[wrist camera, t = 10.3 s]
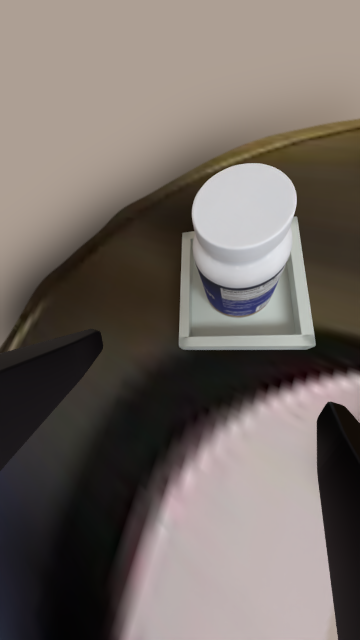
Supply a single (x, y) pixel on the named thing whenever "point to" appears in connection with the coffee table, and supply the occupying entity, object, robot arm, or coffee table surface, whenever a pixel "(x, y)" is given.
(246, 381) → the coffee table surface
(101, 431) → the coffee table surface
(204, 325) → the tray
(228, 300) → the pill bottle
